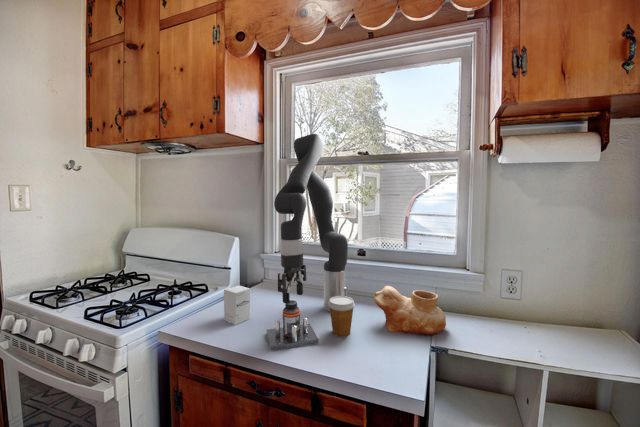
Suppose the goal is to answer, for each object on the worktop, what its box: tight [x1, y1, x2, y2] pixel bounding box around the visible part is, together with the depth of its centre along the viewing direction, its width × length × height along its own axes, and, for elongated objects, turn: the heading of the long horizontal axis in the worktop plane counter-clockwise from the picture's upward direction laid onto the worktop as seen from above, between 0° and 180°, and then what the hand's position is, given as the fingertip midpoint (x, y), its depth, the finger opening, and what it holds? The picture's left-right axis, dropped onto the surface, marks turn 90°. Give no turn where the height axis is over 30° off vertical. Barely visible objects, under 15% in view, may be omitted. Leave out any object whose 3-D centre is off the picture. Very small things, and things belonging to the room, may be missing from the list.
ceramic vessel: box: [373, 285, 447, 337], centre depth 107 cm, size 14×26×15 cm, turn 79°
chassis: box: [265, 316, 319, 352], centre depth 99 cm, size 16×12×6 cm
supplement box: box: [223, 284, 251, 326], centre depth 114 cm, size 7×7×13 cm
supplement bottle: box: [282, 299, 301, 337], centre depth 99 cm, size 6×6×11 cm
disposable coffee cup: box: [328, 295, 356, 338], centre depth 103 cm, size 10×10×12 cm
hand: (293, 298), depth 98 cm, fingers open, 8 cm apart
